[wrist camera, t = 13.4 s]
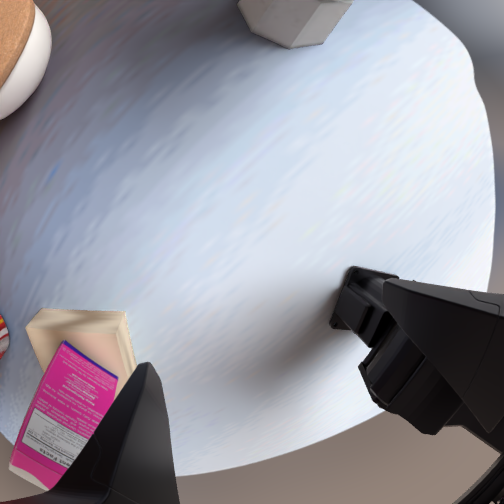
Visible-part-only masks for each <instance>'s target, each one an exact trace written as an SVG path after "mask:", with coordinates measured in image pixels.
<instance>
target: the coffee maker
mask: <svg viewBox="0 0 504 504" xmlns="http://www.w3.org/2000/svg"><path fill="white" fill-rule="evenodd" d="M353 1H354V0H240V1H239V2H238V4H237V6H238V8H239V10H240V12H241V13H242V15H243V17H244V19H245V21H246V23H247V25H248V27H249V29H250V31H251V32H252V33H254V34H256V35H259V36H261V37H263V38H266V39H268V40H270V41H272V42H275V43H277V44H279V45H281V46H283V47H285V48H287V49H293V48H299V47H305V46H312V45H319V44H323V43H324V41H325V40H326V39H327V37H328V36H329V34H330V33H331V32H332V30H333V29H334V27H335V26H336V25H337V23H338V22H339V20H340V19H341V18H342V16H343V15H344V14H345V12H346V11H347V10H348V8H349V7H350V6H351V4H352V3H353Z"/></svg>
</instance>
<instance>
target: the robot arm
mask: <svg viewBox="0 0 504 504" xmlns="http://www.w3.org/2000/svg"><path fill="white" fill-rule="evenodd" d="M355 270H356V273H354V271H355ZM334 323H336V324H334ZM329 324H330V326H331V328H332V329H342V330H352V331H353V333H354V334H356V335H357V336H358V337H359V338H360V339H361V340H362V341H363V342H364V343H365V344H366V345H367V346H368V347H369V348H371V349H372V350H371V351H370V352H369V354H368V355H367V357H366V358H365V359H364V361H363V362H361V363H360V365H359V366H358V368H359V370H360V373H361V375H362V377H363V380H364V382H365V385H366V387H367V389H368V392H369V394H370V396H371V398H372V400H373V402H375V403H376V404H377V405H378V406H379V407H380V408H382V409H384V410H386V411H388V412H390V413H393V414H398V415H400V416H401V417H403V418H404V419H406V420H407V421H408V422H409V423H411V424H412V425H413V426H414V427H415V428H416V429H418V430H419V431H420V432H421V433H423V434H430V435H436V434H437V433H438V432H439V431H440V430H441V429H442V428H443V427H452V426H461V427H463V428H464V429H466V430H467V431H469V432H470V433H472V434H473V435H474V436H476V437H477V438H479V439H480V440H482V441H483V442H484V443H486V444H487V445H489V446H490V447H492V448H493V449H494V450H496V451H497V452H499V453H500V454H501V455H500V457H498V459H497V460H496V461H495V462H494V463H493V464H492V465H491V467H490V468H489V469H488V470H487V471H486V472H485V473H484V474H483V475H482V476H481V477H480V478H479V479H478V480H477V481H476V482H475V483H474V484H473V485H472V486H471V487H470V489H468V490H467V491H466V492H465V493H464V494H463V495H462V496H460V497H459V498H458V499H457V500H456V501H455V502H454V503H452V504H489V503H490V502H491V501H493V502H494V503H495V504H504V294H496V293H486V292H478V291H472V290H465V289H459V288H453V287H446V286H440V285H434V284H427V283H421V282H416V281H414V280H413V281H409V280H402V279H399V277H398V276H397V275H394V274H390V273H385V272H381V271H376V270H372V269H367V268H363V267H358V266H353V267H352V268H351V269H350V271H349V274H348V277H347V280H346V282H345V285H344V288H343V290H342V292H341V295H340V297H339V300H338V303H337V305H336V308H335V310H334V313H333V316H332V318H331V320H330V323H329ZM0 504H180V502H179V496H178V490H177V484H176V477H175V471H174V463H173V456H172V447H171V438H170V428H169V419H168V414H167V409H166V404H165V399H164V394H163V388H162V383H161V380H160V378H159V376H158V374H157V373H156V371H155V369H154V367H153V366H152V364H151V363H150V362H145V363H141V364H139V365H138V366H137V367H136V369H135V370H134V371H133V373H132V374H131V376H130V377H129V379H128V380H127V382H126V383H125V385H124V386H123V388H122V389H121V391H120V392H119V394H118V395H117V397H116V398H115V400H114V401H113V403H112V404H111V406H110V408H109V409H108V411H107V412H106V414H105V415H104V417H103V418H102V420H101V421H100V423H99V424H98V426H97V428H96V429H95V431H94V434H92V435H91V437H90V438H89V440H88V442H87V443H86V445H85V446H84V448H83V449H82V451H81V452H80V453H79V455H78V456H77V457H76V459H75V460H74V461H73V463H72V464H71V465H70V467H69V468H68V469H67V470H66V472H65V473H64V474H63V476H62V477H61V478H60V479H59V481H58V482H57V483H56V484H55V486H54V487H52V488H51V489H50V490H48V491H47V492H44V493H42V494H38V495H34V496H30V497H26V498H21V499H17V500H11V501H6V502H0Z"/></svg>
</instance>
